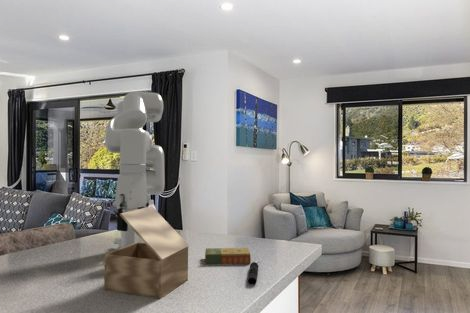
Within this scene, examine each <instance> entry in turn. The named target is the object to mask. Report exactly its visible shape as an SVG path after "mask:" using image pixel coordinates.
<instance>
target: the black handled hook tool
mask: <svg viewBox="0 0 470 313" xmlns="http://www.w3.org/2000/svg"><path fill="white" fill-rule="evenodd" d="M262 262H263V261H261V260H260V261H259V260H256V261H253V262H251V263H250V264H249V270H248V277H247V283H248V284H249V285H250V286H254V285H256V284H257V281H258V275H259V263H262Z"/></svg>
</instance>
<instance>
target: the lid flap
mask: <svg viewBox="0 0 470 313" xmlns="http://www.w3.org/2000/svg"><path fill="white" fill-rule="evenodd" d="M120 216H121V217H122V218H123V219H124V220H125V222H126V223H127V224H128V225H129V226H130V227H131V228H132V229H133V230H134V231H135V233H136V234H137V235H138V236H139V237H140V238H141V239H142V240H143V241H144V242H145V244H146V245H147V246H148V247H149V248H150V249H151V250H152V251H153V252H154V254H155V255H156V256H157V257H158V258H159V259H160V260H163V259H165V258H167V257H169V256H171V255H173V254H175V253H177V252H179V251H181V250H183V249H185V248H187V247H188V248H189V247H190V245H189V243H188V242H187V241H186V240H185V239H184V238H183V237H182V236H181V235H180V234H179V233H178V232H177V231H176V230H175V229H174V228H173V227H172V226H171V224H169V222H168V221H167V220H165V218H164V217H163V216H162V215H161V214H160V212H158V210H157V209H156V210H155V209H154V208H153V207H152V206H151V207H146V208H142V209H137V210H133V211H129V212H124V213H121V214H120Z"/></svg>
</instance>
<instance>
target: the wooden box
mask: <svg viewBox="0 0 470 313" xmlns="http://www.w3.org/2000/svg"><path fill="white" fill-rule="evenodd" d="M103 277H104V280H103V281H104V282H103V284H104V285H103V286H104V287H103V289H104V291H108V292H109V291H110V292H115V293H122V294H128V295H134V296H140V297H147V298H151V299H152V298H153V299H159V300H160V299H163V298H164V297H166V296H167V295H168V294H170V293H171V292H173V291H174V290H175V289H177V288H179V287H180V286H181V285H183V284H184V283H186V282H187V281H188V280H189V247H187V248H185V249H183V250H181V251H179V252H177V253H175V254H173V255H171V256H169V257H167V258H165V259H163V260H160V259H159V258H158V257H157V256H156V255H155V254H154V252H153V251H152V250H151V249H150V248H149V247H148V246H147V245H146V244H145V243H141V242H137V243H134V244H131V245H129V246H126V247H123V248H121V249H118V250H117V249H115V250H113V251H110V252H107V253H105V254H104V276H103Z"/></svg>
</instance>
